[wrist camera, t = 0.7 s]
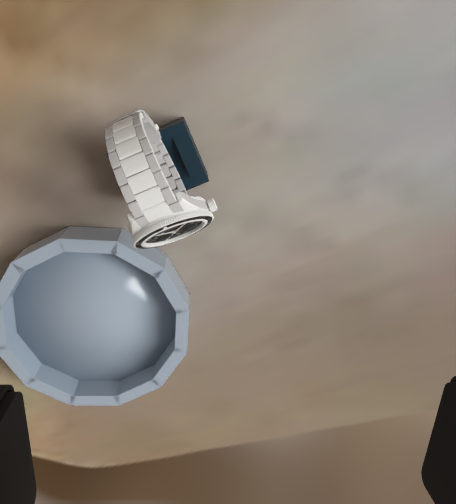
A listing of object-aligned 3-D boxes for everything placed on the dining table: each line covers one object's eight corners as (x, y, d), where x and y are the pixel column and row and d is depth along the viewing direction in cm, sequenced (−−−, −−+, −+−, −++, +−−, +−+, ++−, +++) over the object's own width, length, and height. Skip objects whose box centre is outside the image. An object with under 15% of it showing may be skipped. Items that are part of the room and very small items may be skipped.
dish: (-6, 222, 32) (-23, 234, 30) (192, 232, 34) (192, 244, 31) (15, 382, 38) (2, 405, 35) (184, 384, 39) (183, 405, 37)
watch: (152, 222, 33) (136, 284, 23) (102, 123, 30) (59, 145, 20) (217, 194, 33) (231, 246, 23) (174, 92, 30) (167, 98, 20)
